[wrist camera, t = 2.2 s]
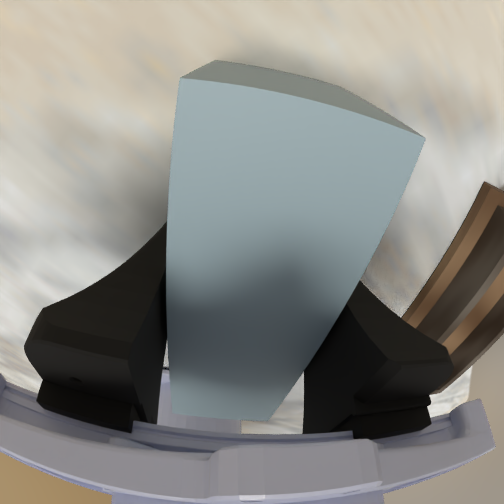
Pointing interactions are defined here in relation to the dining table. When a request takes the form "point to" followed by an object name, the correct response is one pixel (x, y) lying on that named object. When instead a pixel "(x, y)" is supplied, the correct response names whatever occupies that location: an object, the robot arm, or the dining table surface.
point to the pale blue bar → (269, 228)
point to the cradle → (467, 288)
